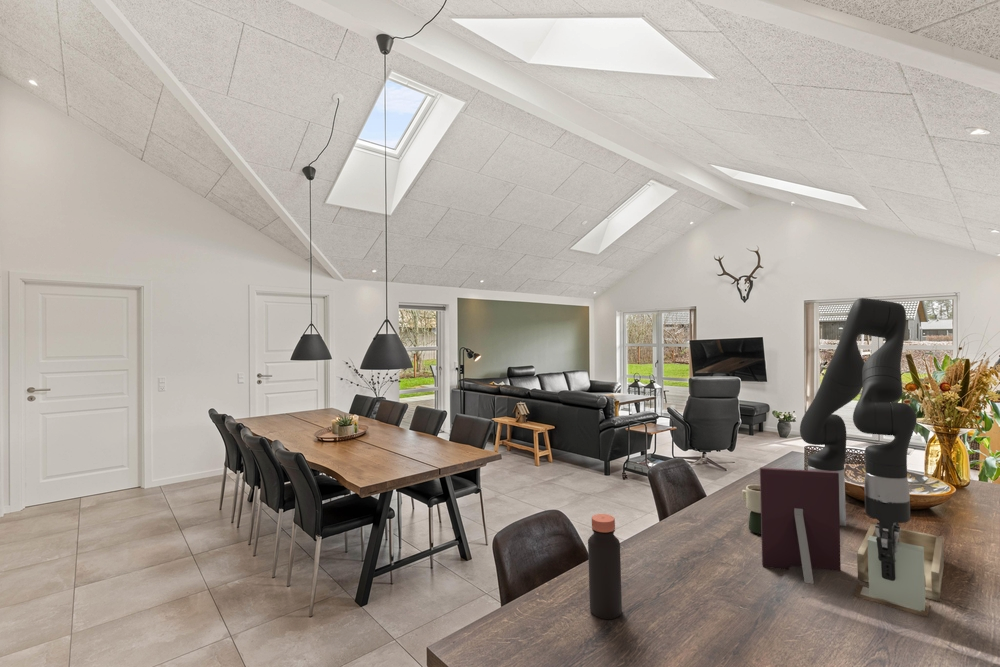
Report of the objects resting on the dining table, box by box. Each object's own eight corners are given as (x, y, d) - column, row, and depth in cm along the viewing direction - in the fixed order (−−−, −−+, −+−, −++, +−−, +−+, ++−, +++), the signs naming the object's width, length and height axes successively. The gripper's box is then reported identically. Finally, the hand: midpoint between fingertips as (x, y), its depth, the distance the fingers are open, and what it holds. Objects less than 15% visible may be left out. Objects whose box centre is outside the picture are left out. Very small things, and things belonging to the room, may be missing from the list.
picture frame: (839, 573, 116) (835, 470, 116) (854, 594, 107) (850, 482, 107) (762, 564, 121) (759, 466, 121) (770, 584, 112) (766, 477, 112)
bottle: (621, 622, 99) (618, 525, 99) (588, 617, 101) (585, 522, 101) (622, 604, 105) (619, 513, 105) (591, 600, 107) (588, 511, 107)
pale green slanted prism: (869, 595, 103) (867, 539, 104) (871, 589, 106) (869, 535, 106) (924, 611, 97) (922, 552, 97) (925, 604, 99) (923, 547, 99)
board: (854, 601, 104) (853, 593, 104) (858, 590, 108) (858, 583, 108) (927, 623, 96) (927, 615, 96) (929, 610, 100) (929, 602, 100)
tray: (857, 584, 111) (857, 553, 111) (872, 549, 128) (871, 522, 128) (939, 607, 101) (938, 573, 101) (944, 566, 118) (943, 537, 118)
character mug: (786, 535, 138) (784, 490, 138) (771, 541, 134) (770, 495, 134) (750, 523, 147) (749, 481, 147) (735, 528, 144) (734, 485, 144)
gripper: (869, 484, 110) (872, 559, 110) (859, 500, 100) (862, 582, 100) (912, 490, 105) (915, 569, 105) (906, 508, 95) (909, 595, 94)
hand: (889, 575), depth 102 cm, fingers closed on pale green slanted prism, 3 cm apart
